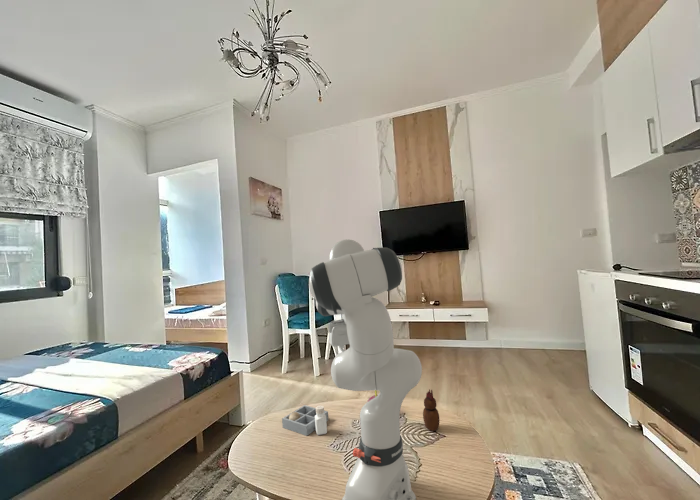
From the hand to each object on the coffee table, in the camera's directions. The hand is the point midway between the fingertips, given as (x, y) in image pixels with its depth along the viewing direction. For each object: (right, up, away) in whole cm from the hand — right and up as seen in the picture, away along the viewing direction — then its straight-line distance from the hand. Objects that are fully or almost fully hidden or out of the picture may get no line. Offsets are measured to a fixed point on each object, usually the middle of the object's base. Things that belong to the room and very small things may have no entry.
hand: (356, 353), depth 121 cm
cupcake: (+9, -30, +14) cm, 34 cm away
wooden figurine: (+29, -28, -1) cm, 40 cm away
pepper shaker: (-13, -31, +2) cm, 34 cm away
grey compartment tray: (-20, -32, +9) cm, 39 cm away
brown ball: (-25, -31, +8) cm, 41 cm away
